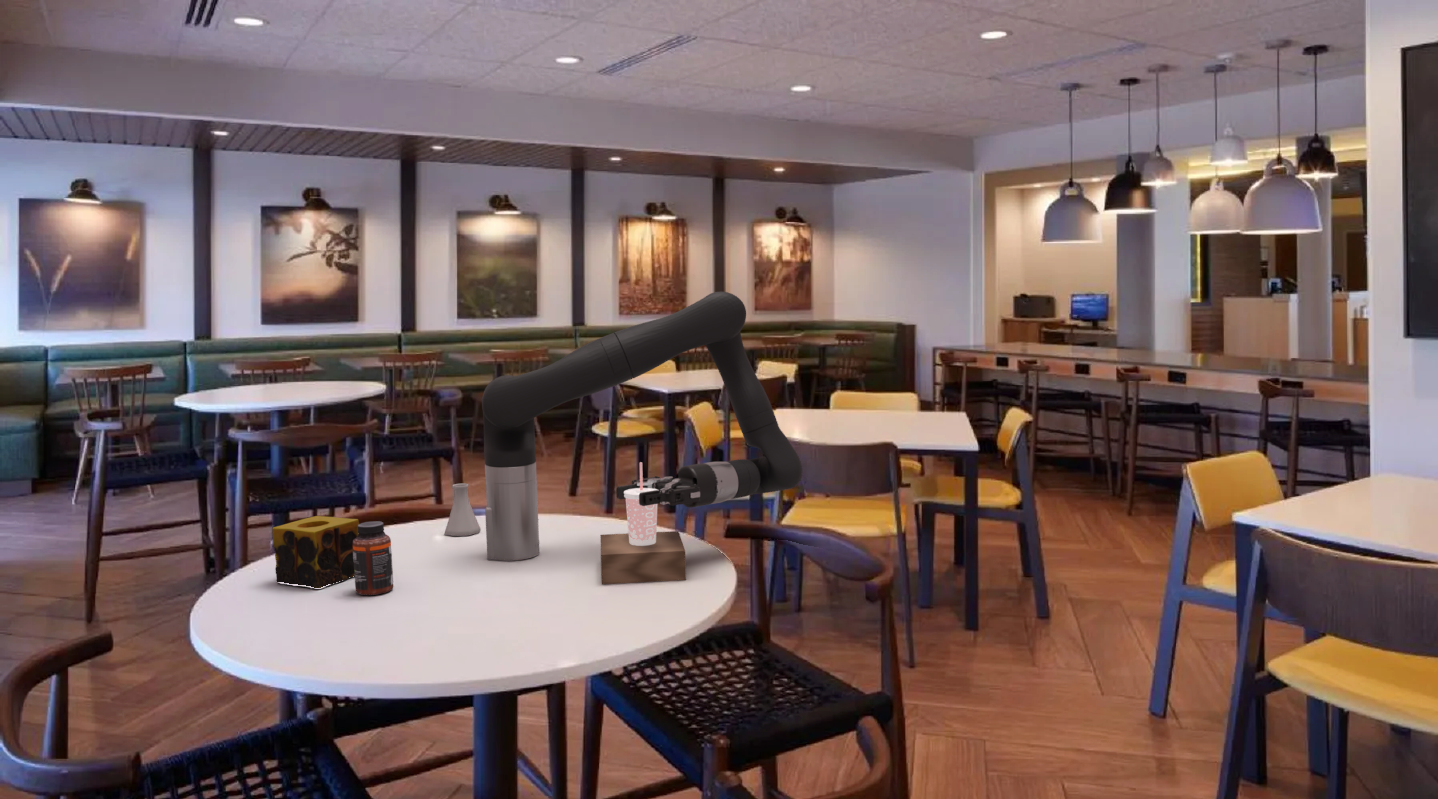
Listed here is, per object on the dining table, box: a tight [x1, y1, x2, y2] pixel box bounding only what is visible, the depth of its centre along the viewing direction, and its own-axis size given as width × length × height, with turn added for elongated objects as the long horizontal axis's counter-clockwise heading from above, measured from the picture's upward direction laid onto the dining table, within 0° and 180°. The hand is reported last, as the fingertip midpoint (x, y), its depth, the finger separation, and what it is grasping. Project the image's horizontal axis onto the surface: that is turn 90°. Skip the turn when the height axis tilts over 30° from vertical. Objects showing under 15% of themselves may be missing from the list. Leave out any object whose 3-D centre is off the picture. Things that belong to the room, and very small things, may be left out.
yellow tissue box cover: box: [271, 515, 360, 588], centre depth 170 cm, size 10×10×10 cm
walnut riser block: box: [599, 530, 687, 585], centre depth 171 cm, size 14×14×5 cm
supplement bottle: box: [353, 520, 394, 596], centre depth 162 cm, size 6×6×11 cm
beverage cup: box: [624, 461, 659, 546], centre depth 170 cm, size 6×6×14 cm
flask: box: [443, 482, 481, 537], centre depth 202 cm, size 7×7×10 cm
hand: (628, 496), depth 169 cm, fingers open, 6 cm apart
